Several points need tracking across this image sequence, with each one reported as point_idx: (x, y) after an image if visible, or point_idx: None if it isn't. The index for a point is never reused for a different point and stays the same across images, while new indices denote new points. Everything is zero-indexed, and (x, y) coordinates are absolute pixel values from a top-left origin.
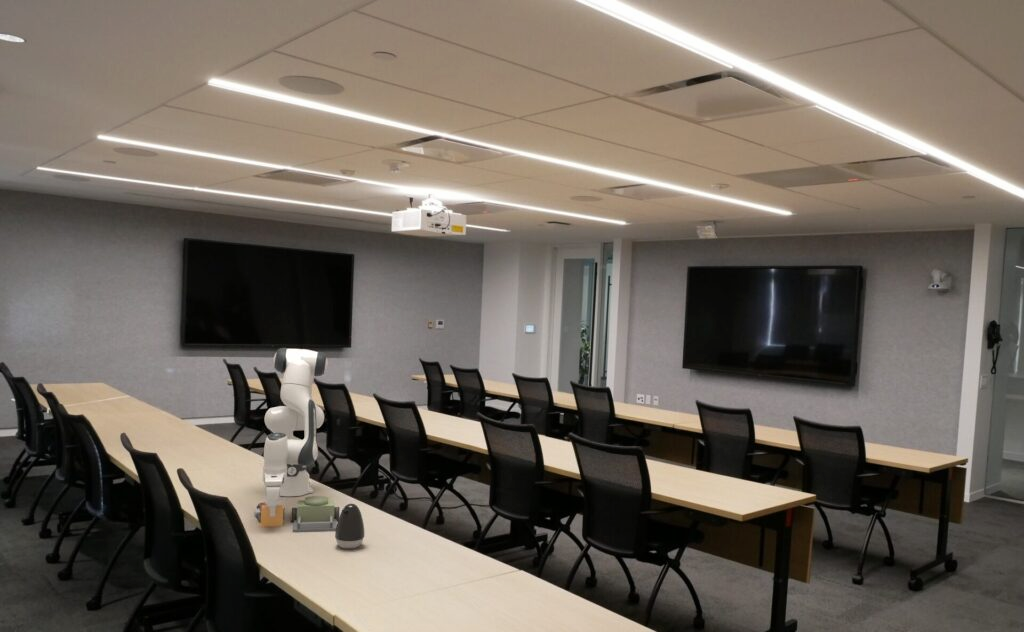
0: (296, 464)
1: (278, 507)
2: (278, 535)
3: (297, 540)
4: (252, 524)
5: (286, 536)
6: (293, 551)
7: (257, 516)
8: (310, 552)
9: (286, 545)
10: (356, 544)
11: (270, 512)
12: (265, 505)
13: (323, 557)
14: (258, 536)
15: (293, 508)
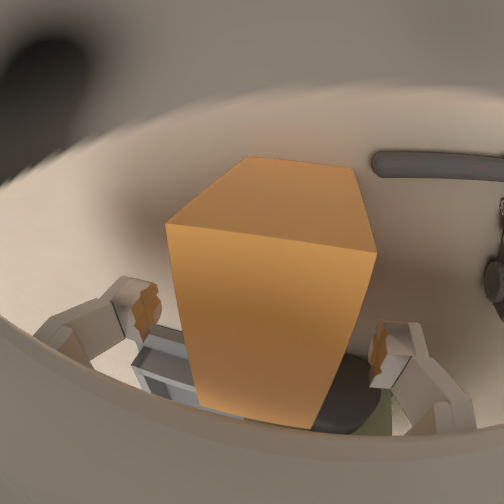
0: None
1: (212, 388)
2: (89, 257)
3: (65, 307)
4: (324, 90)
5: (86, 285)
6: (8, 275)
7: (485, 157)
8: (19, 308)
9: (25, 267)
10: None
11: (103, 296)
12: (339, 297)
13: (14, 319)
14: (64, 163)
15: (327, 426)
